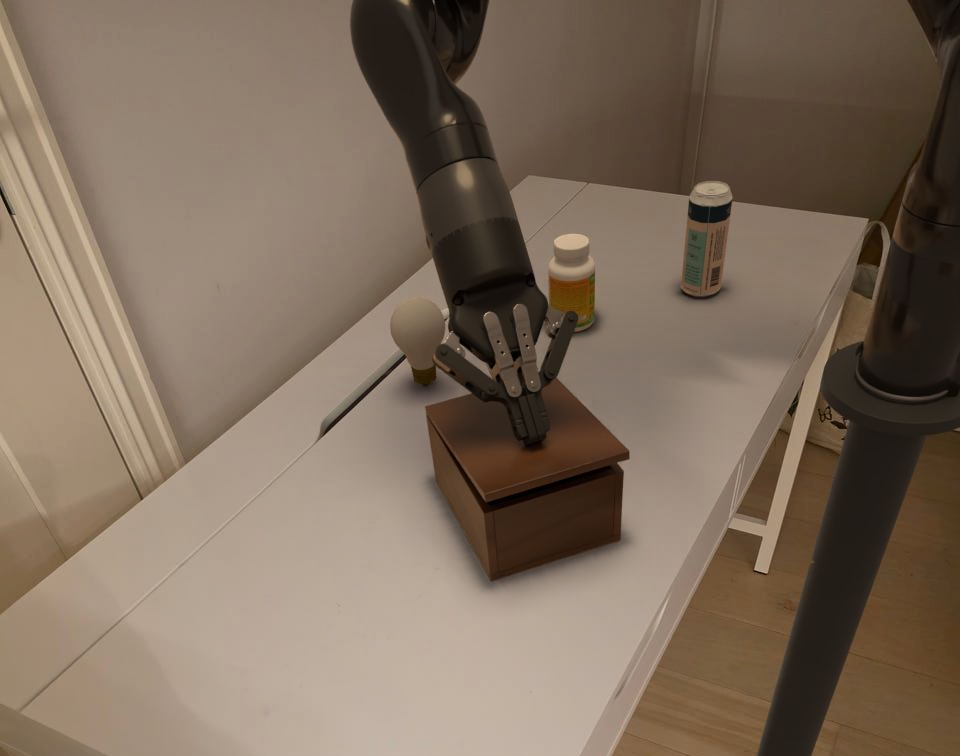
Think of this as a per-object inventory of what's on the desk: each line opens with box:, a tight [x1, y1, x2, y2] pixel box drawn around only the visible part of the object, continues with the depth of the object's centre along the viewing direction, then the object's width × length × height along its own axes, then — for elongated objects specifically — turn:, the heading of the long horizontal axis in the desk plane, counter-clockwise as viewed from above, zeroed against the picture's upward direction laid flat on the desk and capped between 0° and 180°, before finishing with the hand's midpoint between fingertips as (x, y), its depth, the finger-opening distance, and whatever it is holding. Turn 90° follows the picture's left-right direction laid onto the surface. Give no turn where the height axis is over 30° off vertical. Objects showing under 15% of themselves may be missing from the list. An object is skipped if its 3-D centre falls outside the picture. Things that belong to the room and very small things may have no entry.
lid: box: [424, 377, 631, 502], centre depth 76 cm, size 16×13×1 cm
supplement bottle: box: [547, 233, 596, 333], centre depth 102 cm, size 5×5×10 cm
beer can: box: [680, 180, 733, 298], centre depth 103 cm, size 5×5×12 cm
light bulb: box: [389, 296, 446, 387], centre depth 95 cm, size 6×6×10 cm
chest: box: [425, 413, 625, 582], centre depth 80 cm, size 16×13×8 cm
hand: (536, 442), depth 73 cm, fingers closed
